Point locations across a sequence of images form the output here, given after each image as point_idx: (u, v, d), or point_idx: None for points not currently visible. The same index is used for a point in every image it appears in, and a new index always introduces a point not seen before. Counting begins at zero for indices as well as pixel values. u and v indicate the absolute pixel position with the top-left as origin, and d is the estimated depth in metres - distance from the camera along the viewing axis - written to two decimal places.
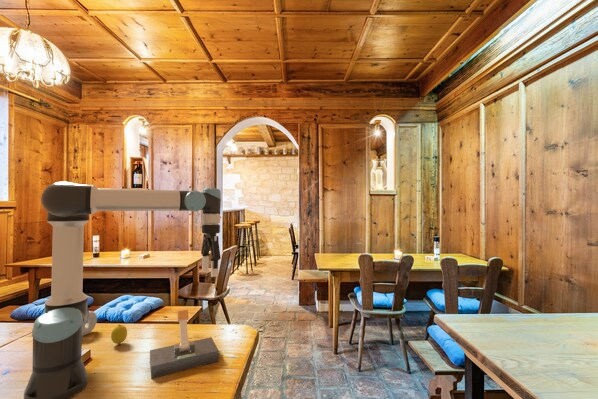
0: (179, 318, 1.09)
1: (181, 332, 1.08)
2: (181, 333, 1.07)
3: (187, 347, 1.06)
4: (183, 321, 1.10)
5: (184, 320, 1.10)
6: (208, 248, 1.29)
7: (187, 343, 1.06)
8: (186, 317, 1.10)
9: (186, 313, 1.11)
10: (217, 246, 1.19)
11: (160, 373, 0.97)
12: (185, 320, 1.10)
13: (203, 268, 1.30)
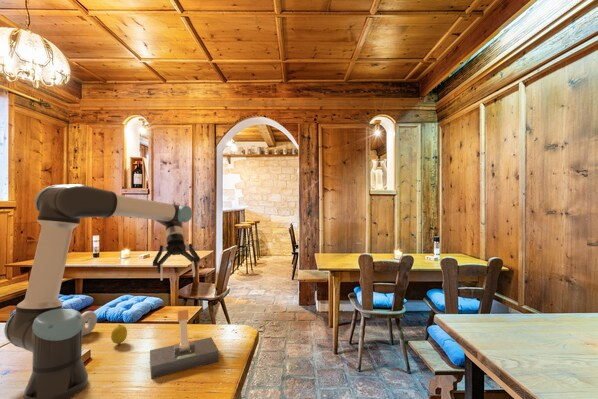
0: (179, 318, 1.09)
1: (181, 332, 1.08)
2: (181, 333, 1.07)
3: (187, 347, 1.06)
4: (183, 321, 1.10)
5: (184, 320, 1.10)
6: (166, 258, 1.31)
7: (187, 343, 1.06)
8: (186, 317, 1.10)
9: (186, 313, 1.11)
10: None
11: (160, 373, 0.97)
12: (185, 320, 1.10)
13: (162, 275, 1.23)
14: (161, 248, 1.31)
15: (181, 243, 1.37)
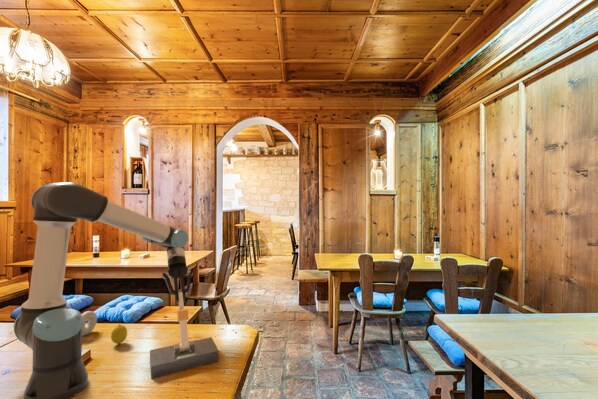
0: (179, 318, 1.09)
1: (181, 332, 1.08)
2: (181, 333, 1.07)
3: (187, 347, 1.06)
4: (183, 321, 1.10)
5: (184, 320, 1.10)
6: None
7: (187, 343, 1.06)
8: (186, 317, 1.10)
9: (186, 313, 1.11)
10: None
11: (160, 373, 0.97)
12: (185, 320, 1.10)
13: None
14: (165, 275, 1.24)
15: (185, 265, 1.31)
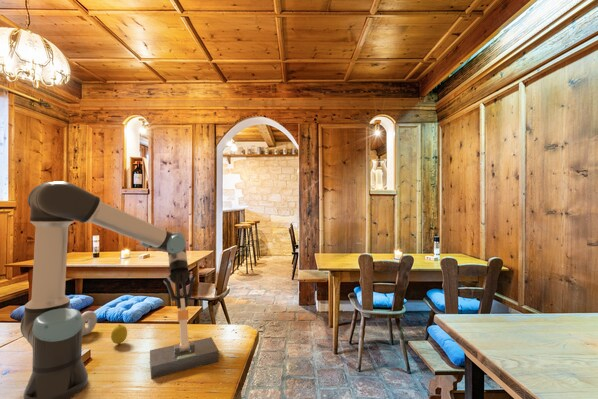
0: (179, 318, 1.09)
1: (181, 332, 1.07)
2: (181, 333, 1.07)
3: (187, 347, 1.06)
4: (183, 321, 1.09)
5: (184, 320, 1.10)
6: None
7: (187, 343, 1.06)
8: (186, 317, 1.10)
9: (186, 313, 1.11)
10: None
11: (160, 373, 0.97)
12: (185, 320, 1.10)
13: None
14: (167, 280, 1.20)
15: (187, 270, 1.27)
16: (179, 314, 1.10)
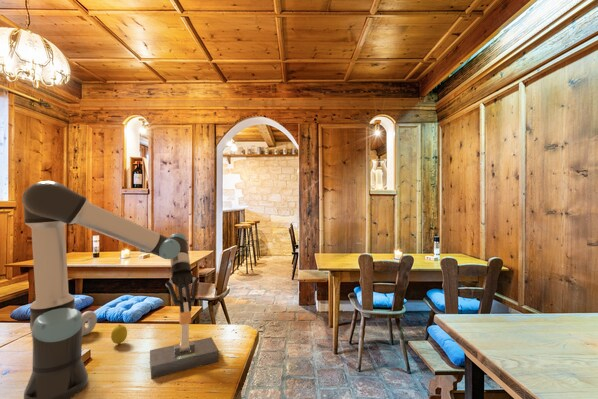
0: (181, 323, 1.04)
1: (182, 335, 1.05)
2: (182, 336, 1.05)
3: (187, 348, 1.06)
4: (185, 325, 1.05)
5: (186, 324, 1.05)
6: None
7: (187, 345, 1.06)
8: (189, 322, 1.05)
9: (189, 318, 1.05)
10: None
11: (160, 373, 0.97)
12: (187, 324, 1.05)
13: None
14: (169, 283, 1.14)
15: (190, 272, 1.21)
16: (181, 319, 1.04)
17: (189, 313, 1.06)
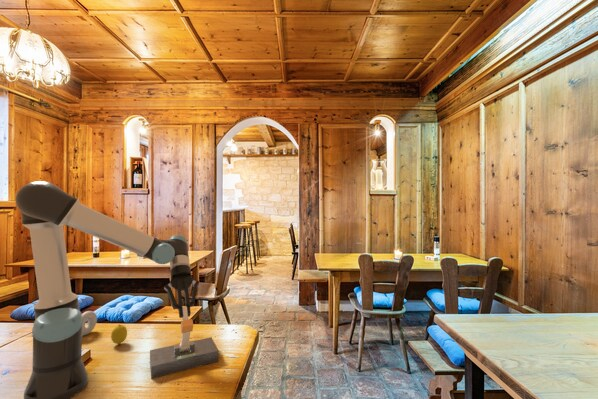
0: (183, 332, 1.01)
1: (183, 340, 1.03)
2: (183, 340, 1.04)
3: None
4: (186, 332, 1.02)
5: (188, 331, 1.02)
6: None
7: (187, 346, 1.06)
8: (190, 330, 1.02)
9: (191, 327, 1.01)
10: None
11: (160, 373, 0.97)
12: (189, 331, 1.02)
13: None
14: (168, 287, 1.10)
15: (190, 275, 1.17)
16: (183, 329, 1.00)
17: (191, 322, 1.02)
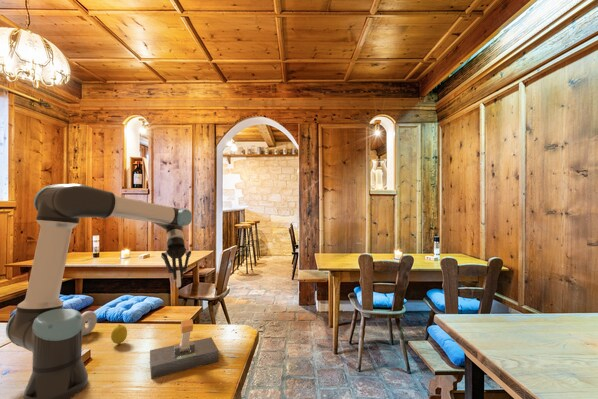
0: (183, 332, 1.01)
1: (183, 340, 1.03)
2: (183, 340, 1.04)
3: None
4: (186, 332, 1.02)
5: (188, 331, 1.02)
6: None
7: (187, 346, 1.06)
8: (190, 330, 1.02)
9: (191, 327, 1.01)
10: None
11: (160, 373, 0.97)
12: (189, 331, 1.02)
13: None
14: (164, 255, 1.30)
15: (184, 246, 1.36)
16: (183, 329, 1.00)
17: (191, 322, 1.02)
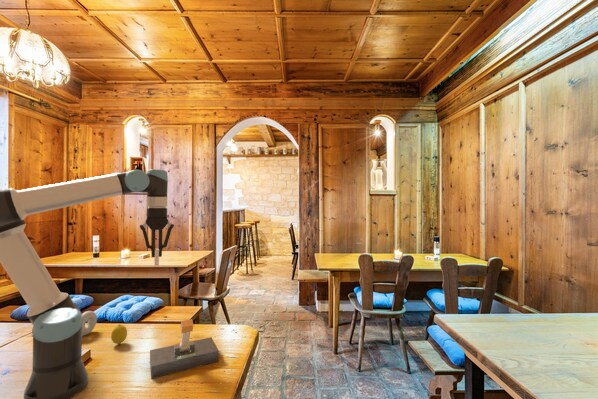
0: (183, 332, 1.01)
1: (183, 340, 1.03)
2: (183, 340, 1.04)
3: None
4: (186, 332, 1.02)
5: (188, 331, 1.02)
6: None
7: (187, 346, 1.06)
8: (190, 330, 1.02)
9: (191, 327, 1.01)
10: None
11: (160, 373, 0.97)
12: (189, 331, 1.02)
13: None
14: (143, 228, 1.16)
15: (166, 217, 1.20)
16: (183, 329, 1.00)
17: (191, 322, 1.02)
